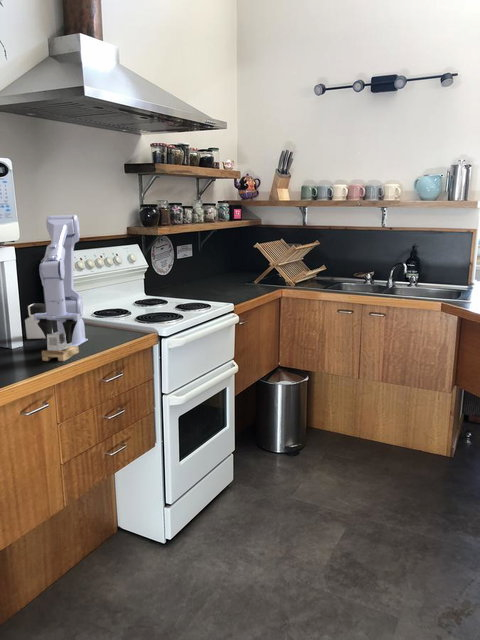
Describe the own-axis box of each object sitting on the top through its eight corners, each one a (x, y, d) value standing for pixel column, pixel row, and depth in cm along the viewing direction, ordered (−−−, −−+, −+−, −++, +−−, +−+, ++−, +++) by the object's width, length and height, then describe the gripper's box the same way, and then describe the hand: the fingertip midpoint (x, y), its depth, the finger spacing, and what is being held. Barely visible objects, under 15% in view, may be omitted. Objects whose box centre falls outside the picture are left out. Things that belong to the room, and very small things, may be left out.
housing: (60, 346, 169) (60, 331, 168) (72, 347, 168) (71, 331, 168) (47, 350, 161) (46, 334, 160) (59, 350, 160) (58, 334, 160)
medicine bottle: (53, 333, 195) (49, 302, 193) (46, 338, 188) (43, 305, 186) (33, 334, 195) (30, 302, 192) (26, 339, 188) (22, 306, 186)
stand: (58, 351, 171) (57, 342, 170) (78, 352, 169) (77, 343, 169) (42, 360, 161) (41, 351, 160) (63, 361, 160) (62, 351, 159)
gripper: (26, 302, 159) (31, 345, 162) (71, 302, 156) (75, 346, 159) (38, 298, 165) (43, 339, 168) (81, 298, 163) (85, 340, 166)
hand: (59, 342), depth 164 cm, fingers open, 6 cm apart
